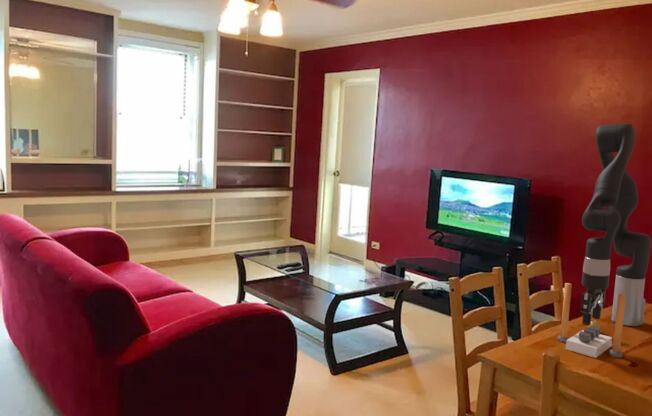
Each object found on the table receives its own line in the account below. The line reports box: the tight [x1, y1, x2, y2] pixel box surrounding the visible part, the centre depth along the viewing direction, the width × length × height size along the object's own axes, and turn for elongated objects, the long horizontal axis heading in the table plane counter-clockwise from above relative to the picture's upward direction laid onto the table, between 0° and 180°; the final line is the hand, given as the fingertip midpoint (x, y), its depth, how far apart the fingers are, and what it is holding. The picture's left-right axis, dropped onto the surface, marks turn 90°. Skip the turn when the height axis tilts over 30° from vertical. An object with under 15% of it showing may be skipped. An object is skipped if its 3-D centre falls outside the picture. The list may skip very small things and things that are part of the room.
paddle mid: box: [583, 327, 596, 340], centre depth 173 cm, size 2×3×2 cm, turn 45°
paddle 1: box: [578, 330, 591, 343], centre depth 170 cm, size 2×3×2 cm, turn 45°
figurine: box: [587, 307, 608, 329], centre depth 187 cm, size 8×6×12 cm
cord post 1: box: [557, 282, 573, 344], centre depth 178 cm, size 4×4×19 cm
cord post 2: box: [608, 294, 626, 359], centre depth 167 cm, size 4×4×19 cm
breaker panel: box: [565, 329, 613, 359], centre depth 174 cm, size 14×9×3 cm, turn 135°
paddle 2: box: [587, 325, 601, 337], centre depth 176 cm, size 2×3×2 cm, turn 45°
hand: (591, 321), depth 173 cm, fingers open, 8 cm apart
